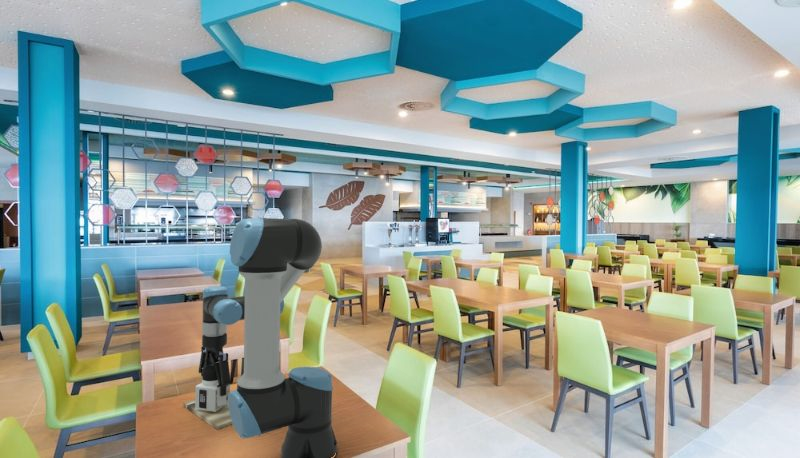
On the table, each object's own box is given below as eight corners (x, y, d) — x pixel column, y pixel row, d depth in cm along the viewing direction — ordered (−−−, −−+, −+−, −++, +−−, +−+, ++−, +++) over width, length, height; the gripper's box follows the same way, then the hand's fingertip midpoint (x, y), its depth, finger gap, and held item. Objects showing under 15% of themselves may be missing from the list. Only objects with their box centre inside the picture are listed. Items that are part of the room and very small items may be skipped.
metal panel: (247, 418, 134) (247, 414, 133) (217, 429, 126) (217, 426, 126) (212, 396, 149) (212, 393, 149) (183, 405, 141) (183, 402, 141)
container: (215, 412, 133) (216, 372, 133) (194, 409, 135) (195, 369, 134) (230, 402, 141) (230, 364, 140) (210, 399, 142) (211, 361, 142)
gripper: (243, 338, 133) (241, 406, 134) (210, 325, 147) (209, 387, 148) (220, 343, 127) (219, 414, 128) (188, 329, 142) (187, 393, 142)
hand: (213, 399), depth 138 cm, fingers closed on container, 10 cm apart
